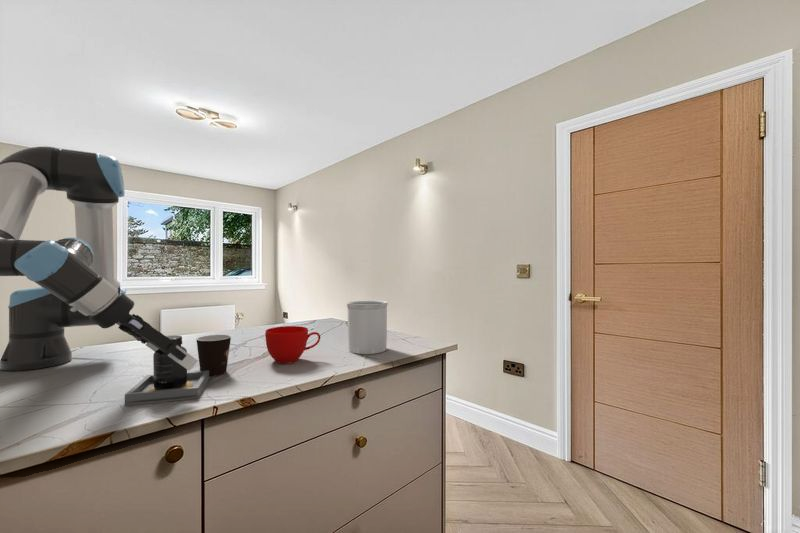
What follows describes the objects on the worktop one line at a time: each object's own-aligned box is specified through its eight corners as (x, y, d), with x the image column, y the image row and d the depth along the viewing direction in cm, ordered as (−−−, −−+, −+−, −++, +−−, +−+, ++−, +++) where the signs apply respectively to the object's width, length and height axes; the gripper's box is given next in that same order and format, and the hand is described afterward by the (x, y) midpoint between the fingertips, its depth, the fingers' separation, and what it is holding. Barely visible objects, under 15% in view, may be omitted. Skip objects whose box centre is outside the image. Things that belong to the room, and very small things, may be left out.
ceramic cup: (320, 364, 109) (320, 332, 109) (262, 367, 105) (262, 334, 105) (320, 354, 122) (320, 325, 122) (268, 356, 118) (268, 326, 118)
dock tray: (146, 384, 89) (147, 375, 89) (209, 379, 94) (209, 370, 94) (124, 405, 76) (124, 394, 76) (198, 398, 81) (198, 387, 81)
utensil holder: (340, 353, 123) (341, 303, 123) (353, 344, 137) (353, 299, 137) (382, 356, 120) (382, 304, 120) (390, 346, 135) (391, 300, 135)
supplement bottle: (163, 382, 88) (164, 334, 88) (192, 381, 89) (192, 334, 89) (146, 392, 82) (146, 340, 81) (177, 391, 82) (178, 340, 82)
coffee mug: (216, 379, 94) (216, 341, 94) (188, 376, 96) (188, 340, 96) (243, 366, 106) (244, 333, 106) (218, 365, 108) (218, 332, 108)
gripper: (74, 312, 81) (151, 364, 93) (102, 324, 65) (190, 385, 77) (104, 288, 85) (174, 340, 97) (137, 294, 69) (216, 356, 81)
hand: (181, 360), depth 87 cm, fingers open, 13 cm apart
